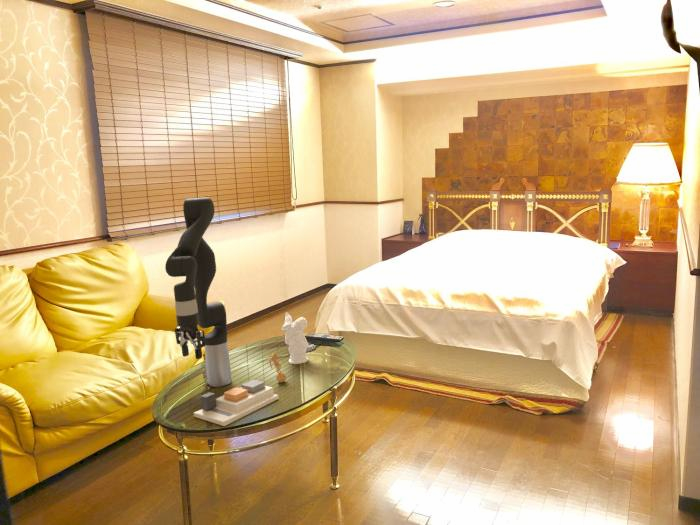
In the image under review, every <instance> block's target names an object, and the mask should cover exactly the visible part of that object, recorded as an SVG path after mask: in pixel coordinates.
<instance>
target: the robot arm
mask: <svg viewBox="0 0 700 525" xmlns="http://www.w3.org/2000/svg"><path fill="white" fill-rule="evenodd" d="M182 208H183V216H184V222H185V226H186V230H185V231H184V232H183V233H182V235H181V236H180V238H179V240H178V243H177V247H176V248H175V249H174V250H173V251H172V252H171V254H170V255H169V256H168V257H167V259H166V262H165V267H164V268H165V272H166V274H167V275H168V276H170V277H172V278H178V277H185V280H184V281H182V282H179V283H176V284H175V285H174V286H173V295H174V302H175V304H174V306H175V307H174V309H175V316H176V318H175V319H176V324H177V327H175V328H174V334H175V341H176V344H177V345H179V346H180V347H181V354H182V357H188V356H189V355H190V353H189V352H190V351H189V345H188V344H189V342H190V344H191V345H193V347H194V356H195V359H196V360H199V359H200V360H201V359H203V358H202V357H203V352H202V348H204V354H205V355H204V356H205V360H204V366H205V367H204V368H205V374H206V375H205V376H206V383H207V384H208V385H209V387H213V388H214V387H215V388H219V387H224V386H228V385H229V384H231V383H232V381H233V380H232V372H231V371H232V370H231V362H230V354H229V353H230V352H229V345H228V324H227V310H226V308H225V305H224V304H223V303H222V302H221V301H217V302H211V303H208V302H207V301H208V292H209V289H210V287H211V285H212V283H213V281H214V278H215V276H216V272H217V263H216V255H215V252H214V250H213V249H212V247H211V246H210V245H209V244H208V243H207V242H206V240H205V239H204V234H205V233H206V231H207V230H208V228H209V226H210V225H211V223H212V221H213V219H214V216H215V204H214V201H213V200H212V198H210V197H195V198H194V197H192V198H186V199H184V201H183V206H182ZM198 326H199V327H200V328H201V329H202V330H199V328H198ZM208 328H212V330H210V332H208V333H206V335H205V331H204V329H208Z"/></svg>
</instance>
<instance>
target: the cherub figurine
mask: <svg viewBox="0 0 700 525" xmlns="http://www.w3.org/2000/svg"><path fill="white" fill-rule="evenodd" d="M284 318H285V319H284V321H283V322H284V324H283V325H282V326H281V327H280V330H281V331H283V332H284V331H285V338H284V343H285V345H288V349H289V351H288V354H289V353H290V354H289V359H288V362H289V364H290V365H301V364H306V363H307V362H308V361H309V357H307V354H306V353H307V352H306V348H308V347H309V344H308V340H307V338H306V336H305V335H304V330H305V329H306V328H308V323H309V322H308V320H307V319H306V318H305V317H304V316H301V317H299V318H297V319H295V321H293V318H292V316H291V315H290V314H289V312H288V311H286V312H285V317H284Z"/></svg>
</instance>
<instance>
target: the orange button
mask: <svg viewBox="0 0 700 525" xmlns="http://www.w3.org/2000/svg"><path fill="white" fill-rule="evenodd" d="M223 395H224V399H226V400H229V401H233V402H237V401H239V400H241V399H243V398H245V397H247V396H248V390H246V389H242V388H241V387H239V386H236V387H233V388H231V389H229V390H227V391H224V392H223Z"/></svg>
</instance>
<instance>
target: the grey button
mask: <svg viewBox="0 0 700 525" xmlns="http://www.w3.org/2000/svg"><path fill="white" fill-rule="evenodd" d="M265 386H266V383H265V381H261V380H258V379H251V380H249V381H247V382H244V383H242V384H241V387H242V389H246V390H248V393H252V394H254V393H256V392H258V391H260V390H262V389H264V388H265Z"/></svg>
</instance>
